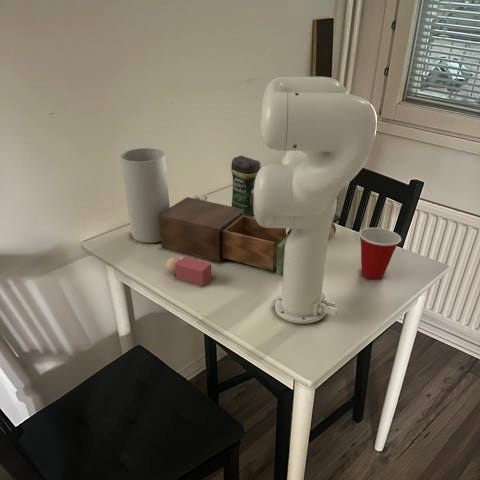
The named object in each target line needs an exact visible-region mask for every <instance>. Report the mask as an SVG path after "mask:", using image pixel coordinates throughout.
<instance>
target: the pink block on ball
mask: <svg viewBox="0 0 480 480" xmlns="http://www.w3.org/2000/svg"><path fill="white" fill-rule="evenodd" d="M165 268H166V271H167V272H168V273H170V274H171V275H176V279H177V280H181V281H184V282H187V283H190V284H194V285H198V286H200V287H204V286H205V285H206V284H207V283H209V282H210V281H211V280H212V279H213V273H212V263H210V262H207V261H203V260H199V259H196V258H193V257H190V256H184V257H182V258H181V259H180V258H179V257H176V256H172V257H169V259H167V260H166V263H165Z"/></svg>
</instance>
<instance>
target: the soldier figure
mask: <svg viewBox="0 0 480 480" xmlns="http://www.w3.org/2000/svg"><path fill="white" fill-rule="evenodd" d="M194 199H199V200H203V201H208V196H207V195H204V196H201V195H194Z"/></svg>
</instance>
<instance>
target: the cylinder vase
mask: <svg viewBox="0 0 480 480" xmlns="http://www.w3.org/2000/svg"><path fill="white" fill-rule="evenodd" d="M119 158H120V164H121V171H122V179H123V184H124V192H125V198H126V205H127V211H128V212H127V213H128V219H129V226H130V231H131V236H132V238H133V239H134V240H135V241H138V242H140V243H143V244H144V243H145V244H154V243H159V242H162V239H161V230H160V220H159V214H161V213H162V212H164V211H165V210H167V209H169V208H170V207H171V205H170V196H169V185H168V184H169V183H168V173H167V164H166V161H167V160H166V153H165V152H164V150H161V149H158V148H153V147H150V148H149V147H141V148H139V147H138V148H132V149H129V150H126V151H123V152H122V153H120V156H119Z"/></svg>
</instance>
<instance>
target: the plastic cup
mask: <svg viewBox="0 0 480 480" xmlns="http://www.w3.org/2000/svg"><path fill="white" fill-rule="evenodd" d="M358 235H359V239H360V264H361V274H362V276H363V277H364V278H366V279H368V280H381V279H382V278H383V277H384V276H385V274H386V271H387V268H388V267H389V265H390V262H391V259H392V257H393V255H394V252H395V250H396V249H397V247H398V245H399V244H400V243H401V242H402V237H401V236H400V234H398V233H397V232H394V231H393V230H389V229H386V228H381V227H366V228H362V229H360V230H359V233H358Z"/></svg>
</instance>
